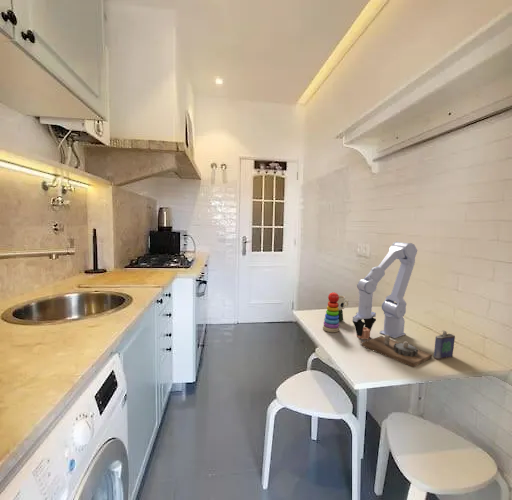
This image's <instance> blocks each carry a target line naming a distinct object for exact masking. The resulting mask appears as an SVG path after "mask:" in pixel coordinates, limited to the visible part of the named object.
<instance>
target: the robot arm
mask: <svg viewBox="0 0 512 500" xmlns="http://www.w3.org/2000/svg"><path fill="white" fill-rule="evenodd" d="M388 248H389V250H388V251H387V253H386V255H385V256H384V258H383V259H382V261H381V262H380V263H379V264H378V266H373V267H372V268H371V269H370V271H369V272H368V273H367V275H366V276H364V278H362V279H359V281H358V283H357V284H356V287H357V289H358V309H357V310H358V311H357V312H356V313H355V315H354V316H352V323H353V325H354V328H355V333H356V336H357V335H358V336H362V331H363V327H367V328H369V329H370V332H371V330H372V328H373V325H374V324H375V322H376V321H377V318H376V315H377V313H376V312H374V311H373V297H374V296H373V294H374V292H376V290H377V286H378V283H380V281H381V280H382V278H384V276H385V274H386V272H385V271H386V270H387V269H388V268H389V267H390V266H391V265H393V263H394V262H395V261H396V260H399V262H400V266H399V269H398V272H397V275H396V278H395V281H394V284H393V287H392V290H391V294H388V295H387V296H386V297H385V299H384V301H383V302H382V303H381V311H382V312H383V315H384V319H383V330H381V331H379V334H382V335H389V336H390V338H393V339H396V338H399V337H402V336H404V335H406V334H407V333H405V322H406V321H405V318H404V316H405V314H406V312H407V308H406V306H407V302H406V301H405V299H404V297H405V294H406V291H407V287H408V284H409V281H410V279H411V275H412V273H413V270H414V267H415V263H416V256H417V254H418V249H417V247H416V245H415V244H414V243H413V242H409V243H408V242H402V241H394V242H393V243H392V244H391V245H390V247H388Z"/></svg>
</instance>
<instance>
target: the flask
mask: <svg viewBox="0 0 512 500" xmlns="http://www.w3.org/2000/svg"><path fill="white" fill-rule="evenodd" d="M455 339H456V336H455V335H454V334H452V333H448V332H447V331H446V330H443V331H442V334H439V335H436V336H435V339H434V341H435V342H434V350H433V358H434V359H435V360H444V359H451V358H453V357H454V355H453V354H454V349H455V348H454V347H455V341H456V340H455Z"/></svg>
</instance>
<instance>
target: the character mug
mask: <svg viewBox="0 0 512 500" xmlns="http://www.w3.org/2000/svg"><path fill="white" fill-rule="evenodd" d="M338 296H339V300H338V301H337V303H338V308H339V310H338V312H339V314H338V316H339V318H338V319H339V322H342V321H344V313H343V310H344V309H345V307H348V306H349V300H348V299H346V296H344V295H340V294H338ZM328 302H330V301H329V299H327V303H328Z"/></svg>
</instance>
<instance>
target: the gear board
mask: <svg viewBox="0 0 512 500" xmlns="http://www.w3.org/2000/svg"><path fill="white" fill-rule="evenodd" d="M361 346H362V347H364V348H366V347H367V349H368V348H369V350H371V351H373V350H374V351H373V352H375V353H378V354H380V355H383V356H385V357H388V358H390V359H392V360H394V361H397V362H400V363H402V364H404V365H408V366H409V367H412V368H414V367H417V366H418V365H421V364H423V363H425V362H426V361H428V360H431V359H432V358H433V354H432V353H428V352H426V351H424V350H421V349H419V348H417V347H416V346H414V345H413V344H409V342H408V341H403V343H402V342H399V341H397V340H394V339H391V337H390V336H389V335H385V336H383V335H380V336H377V337H375V338H371V339H367V340H366V341H363V342H362V343H361Z"/></svg>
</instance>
